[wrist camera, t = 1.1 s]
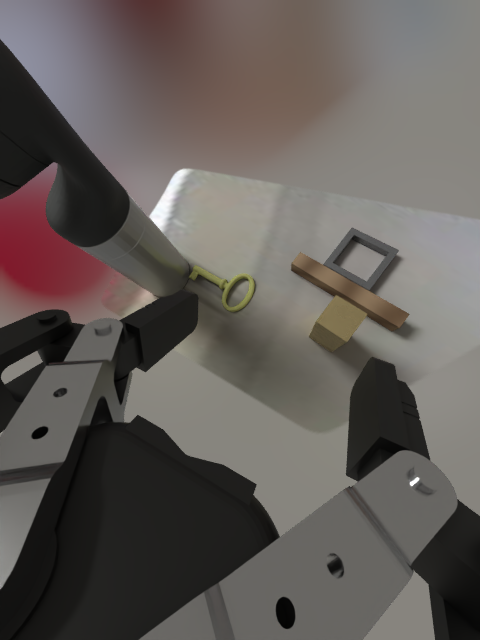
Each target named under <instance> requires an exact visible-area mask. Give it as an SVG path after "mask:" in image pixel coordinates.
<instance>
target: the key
mask: <svg viewBox="0 0 480 640" xmlns="http://www.w3.org/2000/svg"><path fill="white" fill-rule="evenodd" d="M198 274H199V275H201V276H203V277H205V278H206V279H208V280H210V281H212V282H214V283H215V284H217V285H219V288H220V289H223V288H224V289H225V290H224V292H223V295H222V304H223V306H224V308H225V309H226V310H228V311H231V312H235V311H238V310H240V309H242V308H243V307H245V306H246V305H247V304H248V302H249V301H250V299H251V298H252V296H253V293H254V289H255V283H254V280H253V278H252V277H251V276H250V275H248V274H239V275H237V276H235V277H234V278H233V279H232V280H231V281H230V282H229V283H227V280H226V279H223V280H222V279H220V278H218V277H216V276H214V275H213V274H211V273H209V272H207V271H205V270H204V269H202V268H200V267H198V266H196V265H195V266H194V267H193V272H192V273H191V275H190V276H189V278H192V280H195V279H196V277H197V276H198ZM243 278H245V279H248V280H249V283H250V285H249V290H248V293H247V295H246V297H245V298H244V300H243V301H242V302H241V303H240V304H238V305H237V306H235V307H229V306H228V305H227V303H226V298H227V295H228V293H229V291H230V289H231V288H232V286H233V285H234V284H235V283H236V282H237V281H238V280H240V279H243Z"/></svg>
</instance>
